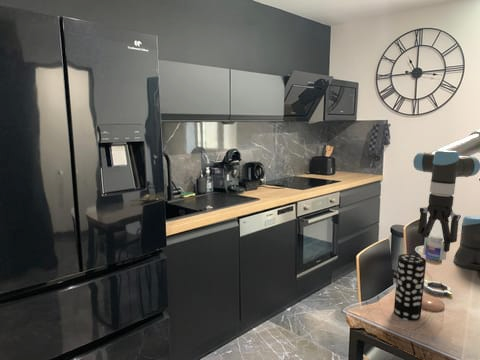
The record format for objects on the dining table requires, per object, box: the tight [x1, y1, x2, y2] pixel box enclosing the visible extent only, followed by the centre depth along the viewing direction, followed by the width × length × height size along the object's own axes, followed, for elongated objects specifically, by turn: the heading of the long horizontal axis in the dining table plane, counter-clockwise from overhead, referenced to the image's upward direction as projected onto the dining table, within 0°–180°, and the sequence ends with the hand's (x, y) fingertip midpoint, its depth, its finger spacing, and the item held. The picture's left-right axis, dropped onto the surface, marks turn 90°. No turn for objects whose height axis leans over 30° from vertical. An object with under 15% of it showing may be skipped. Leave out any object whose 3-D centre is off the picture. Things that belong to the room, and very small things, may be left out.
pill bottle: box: [424, 234, 444, 266], centre depth 127 cm, size 5×5×10 cm
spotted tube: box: [393, 253, 427, 322], centre depth 117 cm, size 8×8×20 cm
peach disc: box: [422, 294, 446, 312], centre depth 126 cm, size 10×10×1 cm
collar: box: [423, 279, 453, 299], centre depth 136 cm, size 9×12×2 cm
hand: (434, 256), depth 127 cm, fingers closed on pill bottle, 5 cm apart
